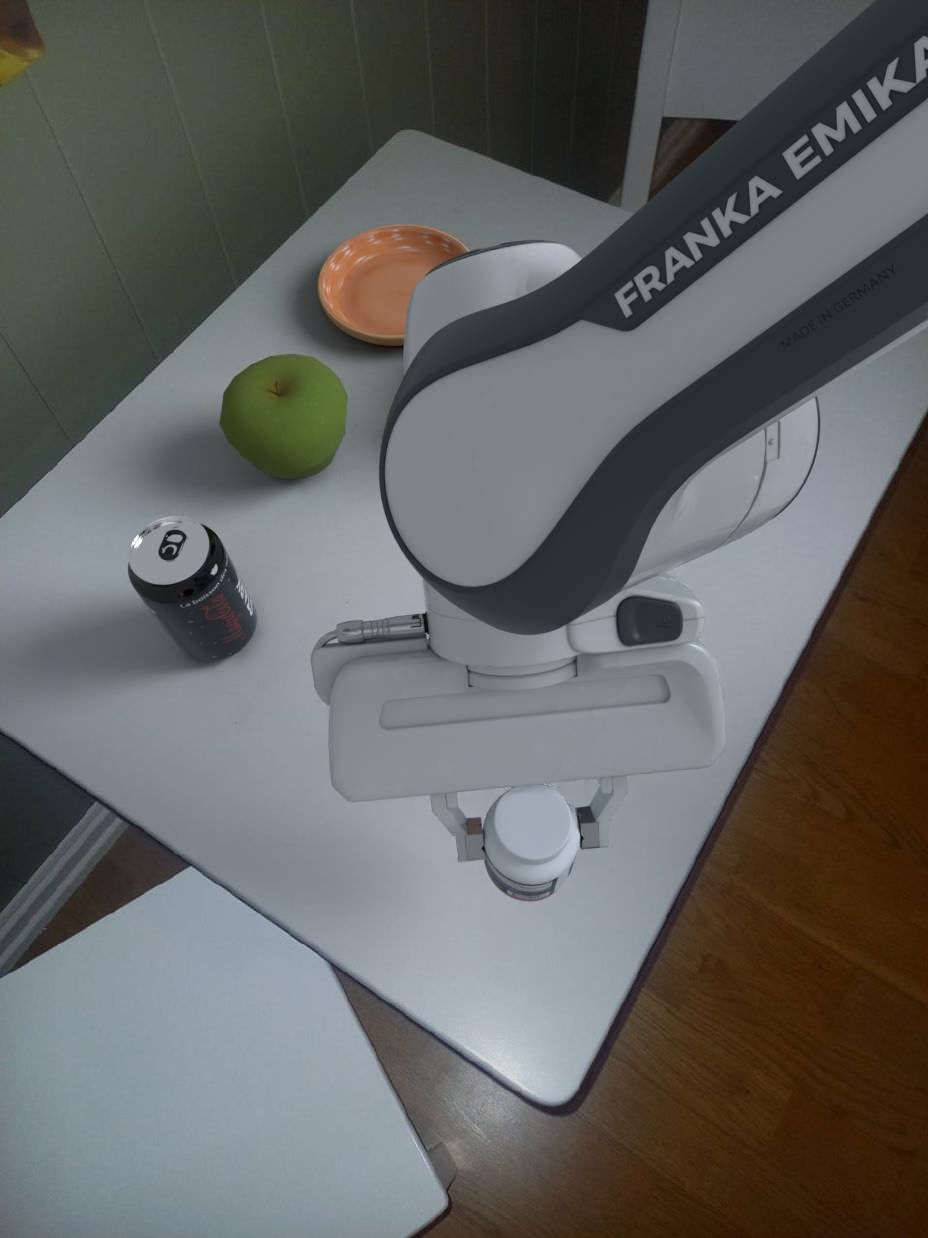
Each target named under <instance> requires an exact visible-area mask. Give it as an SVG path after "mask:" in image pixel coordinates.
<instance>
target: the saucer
mask: <svg viewBox="0 0 928 1238" xmlns="http://www.w3.org/2000/svg"><path fill="white" fill-rule="evenodd" d="M469 251H470V250H469V248H468V246H466V245H465V244H464V243H463V242H462V241H460V240H459V239H457V238H456V237H454V236H453V235H451V234H449V233H447V232H445V231H442V230H439V229H437V228H434V227H430V226H425V225H420V224H419V225H417V224H405V223H403V224H389V225H383V226H382V225H381V226H378V227H373V228H371V229H368V230H364V231H363V232H360V233H358V234H355V235H353V236H351V237H350V238H349V239H347V240H344V242H342V243H341V244H339V246H337V247H336V248H335V249H334V250H333V251H332V252H331V253H330V254H329V256H328V257H327V258H326V259H325V261H324V263H323V264H322V266H321V268H320V271H319V273H318V277H317V294H318V299H319V302H320V304H321V306H322V309H323V311H324V313H325V314H326V316H327V317H328V319H329V320H330V321H331V322H332V323H333V324H334V325H335V327H337V328H338V329H340V330H341V331H342V332H344V333H346V334H347V335H349V336H351V337H353V338H355V339H357V340H360V341H363V342H367V343H369V344H374V345H377V346H390V347H400V346H404V332H405V324H406V317H407V310H408V305H409V301H410V296H411V293H412V291H413V288H414V287H415V285H416V284H417V283H418V282H419V281H420V280H421V279H422V278H423V277H424V276H425V275H426V274H427V273H428V272H429V271H430V270H432V269H433V268H434V267H436V266H438V265H439V264H441V263H443V262H445V261H447V260H449V259H451V258H453V257H456V256H458V255H461V254H463V253H466V252H469Z"/></svg>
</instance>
